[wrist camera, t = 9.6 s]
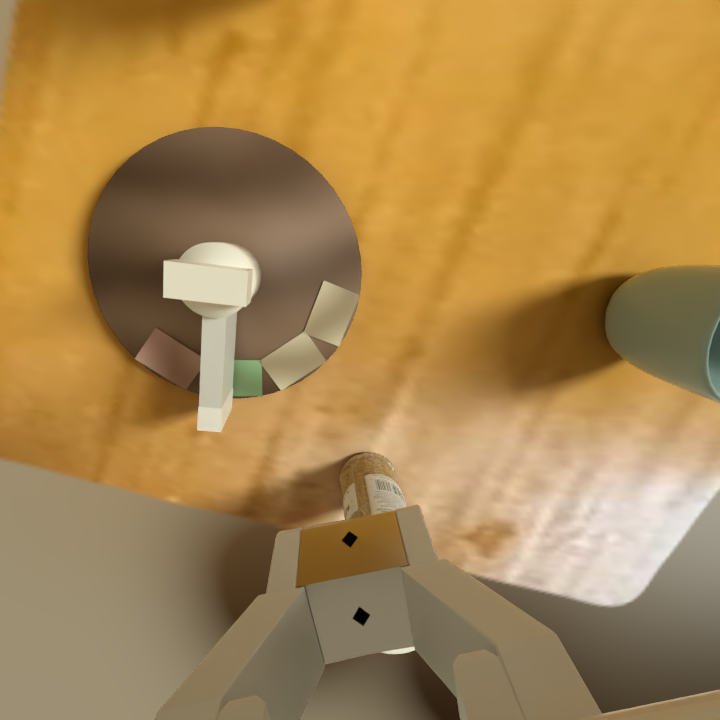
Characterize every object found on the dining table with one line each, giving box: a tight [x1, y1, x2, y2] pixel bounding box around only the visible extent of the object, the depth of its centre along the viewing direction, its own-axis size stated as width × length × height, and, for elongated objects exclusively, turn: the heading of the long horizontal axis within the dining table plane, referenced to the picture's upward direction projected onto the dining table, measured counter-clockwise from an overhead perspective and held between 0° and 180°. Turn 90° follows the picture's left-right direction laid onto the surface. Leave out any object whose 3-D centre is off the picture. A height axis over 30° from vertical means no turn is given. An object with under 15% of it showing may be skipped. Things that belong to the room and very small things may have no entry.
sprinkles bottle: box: [339, 453, 415, 654], centre depth 27 cm, size 5×5×14 cm
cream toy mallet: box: [163, 242, 261, 432], centre depth 25 cm, size 11×4×6 cm, turn 172°
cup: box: [605, 265, 720, 403], centre depth 27 cm, size 8×8×10 cm
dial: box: [88, 127, 362, 398], centre depth 27 cm, size 17×17×1 cm
